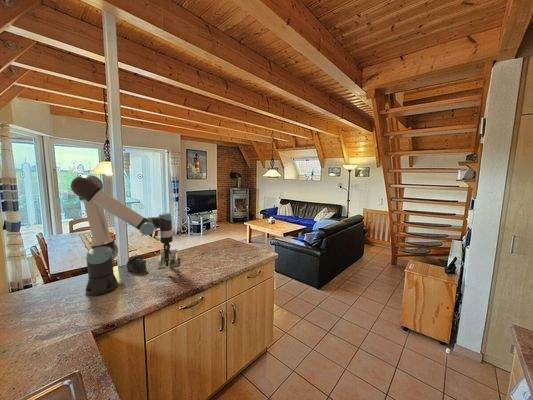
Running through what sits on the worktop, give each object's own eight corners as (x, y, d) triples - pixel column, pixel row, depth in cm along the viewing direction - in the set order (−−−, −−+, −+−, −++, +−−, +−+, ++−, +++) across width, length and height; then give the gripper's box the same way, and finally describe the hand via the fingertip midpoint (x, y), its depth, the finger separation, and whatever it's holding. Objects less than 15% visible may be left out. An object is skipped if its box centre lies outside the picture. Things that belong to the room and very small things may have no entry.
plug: (163, 264, 167) (163, 257, 166) (164, 261, 172) (164, 254, 172) (174, 263, 169) (173, 256, 168) (174, 260, 175) (174, 253, 174)
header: (178, 266, 166) (177, 257, 166) (157, 268, 162) (157, 259, 161) (177, 256, 185) (177, 248, 184) (159, 258, 180) (159, 250, 179)
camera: (150, 267, 164) (149, 254, 162) (141, 273, 154) (140, 259, 153) (133, 266, 166) (132, 253, 164) (122, 272, 156) (121, 258, 155)
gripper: (171, 240, 146) (173, 273, 149) (172, 231, 170) (174, 259, 172) (158, 241, 144) (160, 274, 146) (161, 232, 167) (163, 260, 169)
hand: (167, 266), depth 159 cm, fingers open, 13 cm apart
